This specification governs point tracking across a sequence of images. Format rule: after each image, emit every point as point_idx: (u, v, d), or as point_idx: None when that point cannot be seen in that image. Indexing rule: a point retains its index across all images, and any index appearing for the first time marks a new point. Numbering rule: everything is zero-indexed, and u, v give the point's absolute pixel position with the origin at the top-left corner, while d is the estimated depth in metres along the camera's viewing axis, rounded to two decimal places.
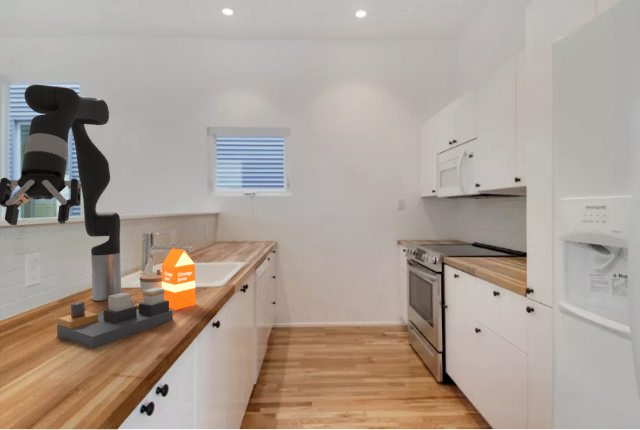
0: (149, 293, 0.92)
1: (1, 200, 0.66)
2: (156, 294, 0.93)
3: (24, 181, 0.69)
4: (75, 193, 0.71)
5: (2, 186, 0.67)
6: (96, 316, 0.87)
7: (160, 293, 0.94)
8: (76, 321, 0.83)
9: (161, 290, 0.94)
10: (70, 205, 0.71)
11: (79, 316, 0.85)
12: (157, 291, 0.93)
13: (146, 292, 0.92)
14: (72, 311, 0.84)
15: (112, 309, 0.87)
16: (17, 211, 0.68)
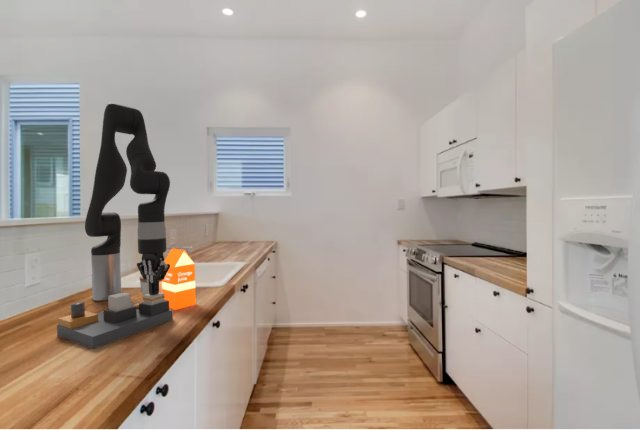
0: (149, 298, 0.92)
1: (145, 277, 0.94)
2: (156, 299, 0.93)
3: (143, 258, 0.94)
4: (157, 276, 0.91)
5: (140, 268, 0.95)
6: (96, 316, 0.87)
7: (160, 298, 0.94)
8: (76, 321, 0.83)
9: (161, 295, 0.94)
10: (157, 281, 0.93)
11: (79, 316, 0.85)
12: (157, 296, 0.93)
13: (146, 297, 0.92)
14: (72, 311, 0.84)
15: (112, 309, 0.87)
16: None
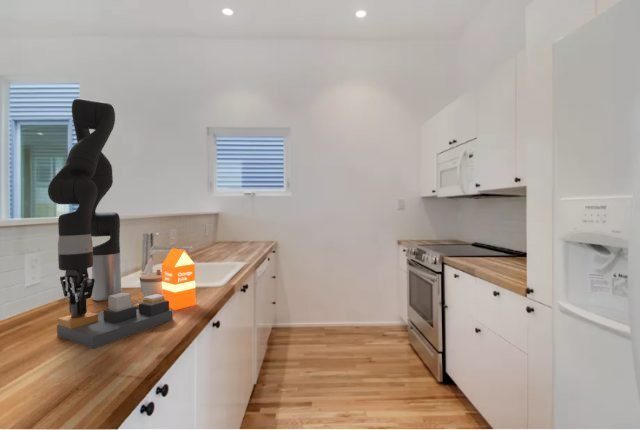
0: (149, 300, 0.92)
1: (65, 294, 0.86)
2: (156, 301, 0.93)
3: (66, 274, 0.86)
4: (81, 293, 0.82)
5: (62, 283, 0.87)
6: (96, 316, 0.87)
7: (160, 300, 0.94)
8: (76, 321, 0.83)
9: (161, 297, 0.94)
10: (83, 300, 0.84)
11: (79, 316, 0.85)
12: (157, 298, 0.93)
13: (146, 299, 0.92)
14: (72, 311, 0.84)
15: (112, 309, 0.87)
16: None
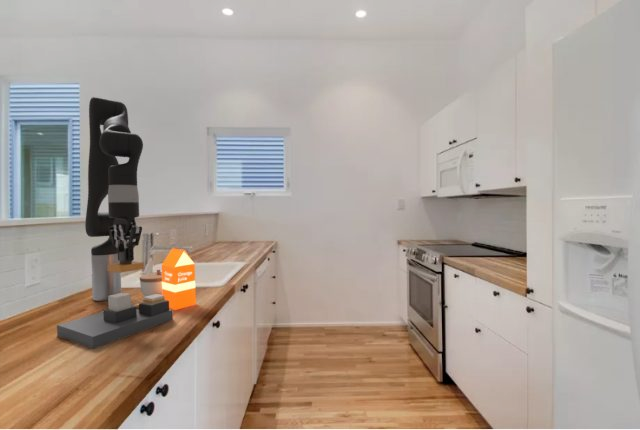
0: (149, 300, 0.92)
1: (114, 243, 0.91)
2: (156, 301, 0.93)
3: (115, 224, 0.91)
4: (130, 240, 0.87)
5: (110, 233, 0.92)
6: (142, 264, 0.91)
7: (160, 300, 0.94)
8: (125, 266, 0.87)
9: (161, 297, 0.94)
10: (131, 247, 0.89)
11: (127, 263, 0.89)
12: (157, 298, 0.93)
13: (146, 299, 0.92)
14: (120, 258, 0.89)
15: (112, 309, 0.87)
16: (124, 250, 0.91)
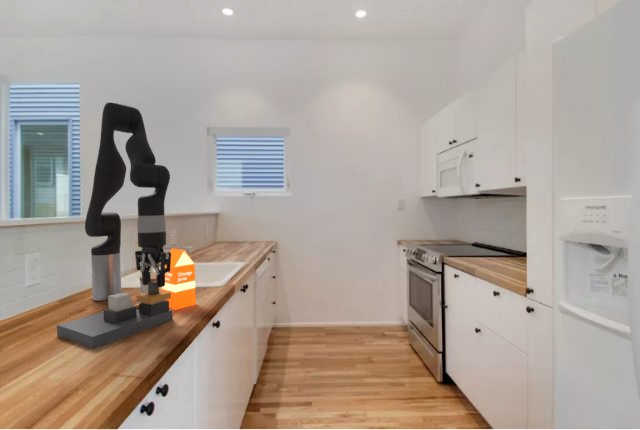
0: None
1: (138, 268, 0.95)
2: None
3: (143, 252, 0.94)
4: (162, 266, 0.90)
5: (136, 258, 0.95)
6: (169, 294, 0.95)
7: None
8: (154, 297, 0.91)
9: None
10: (163, 273, 0.92)
11: (155, 293, 0.93)
12: None
13: None
14: (149, 289, 0.93)
15: (112, 309, 0.87)
16: (148, 274, 0.96)
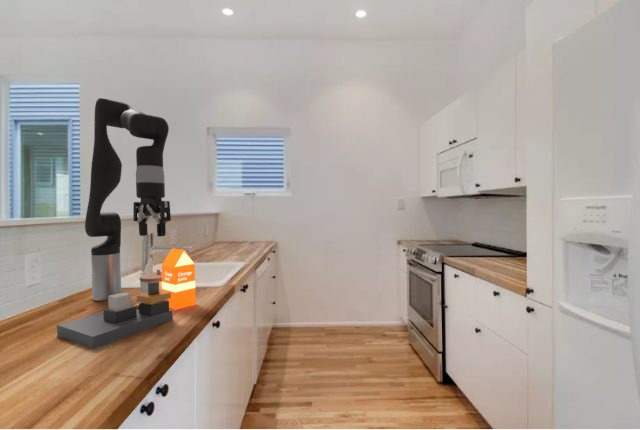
0: None
1: (135, 219, 0.95)
2: None
3: (141, 204, 0.94)
4: (162, 214, 0.89)
5: (134, 208, 0.95)
6: (169, 294, 0.95)
7: None
8: (154, 297, 0.91)
9: None
10: (163, 222, 0.91)
11: (155, 293, 0.93)
12: None
13: None
14: (149, 289, 0.93)
15: (112, 309, 0.87)
16: (145, 225, 0.96)
